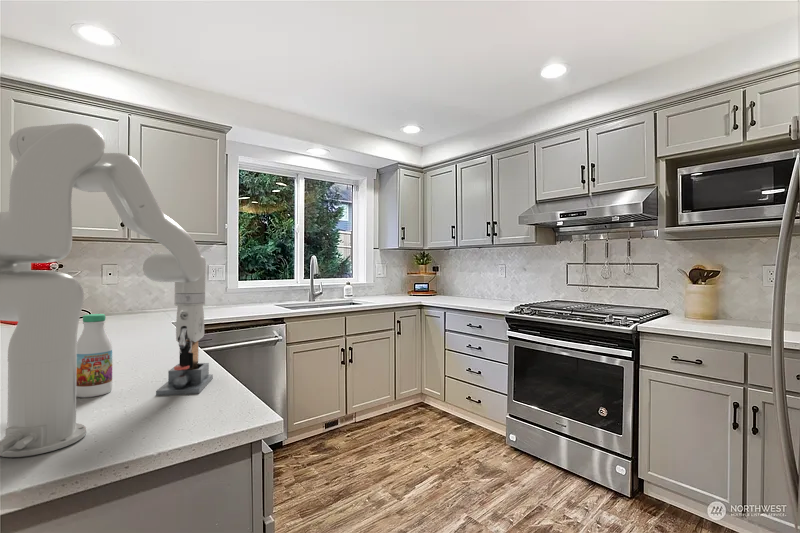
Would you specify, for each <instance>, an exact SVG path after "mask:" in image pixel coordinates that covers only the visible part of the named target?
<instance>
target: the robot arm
mask: <svg viewBox="0 0 800 533" xmlns="http://www.w3.org/2000/svg"><path fill="white" fill-rule="evenodd" d="M8 143H9V144H8V145H9V151H10V153H11V155H12V156H13V158H14V159H15V160H16V161H17V162H16V163H15V165H14V166H13V167H14V168H13V169H12V172H11V175H10V180H9V195H8V196H9V197H8V198H9V199H8V211H0V321H7V322H17V323H16V326H15V329H14V330H13V332H12V334H11V338H10V340H9V343H8V348H7V428H4V429H5V430H4V431H5V432H4V433H5V435H4V437H3V438H1V439H0V457H3V458H20V457H21V458H22V457H30V456H36V455H41V454H45V453H49V452H54V451H58V450H59V449H62V448H65V447H69V446H70V445H73V444H75V443H77V442H78V441H80V440H81V439H83V438H84V437H85V436H86V433H87V427H86V426H85V425H84V424H82V423H77V397H76V371H77V342H78V328H79V323H80V318H81V314H82V310H83V306H84V301H85V299H84V298H85V293H84V289H83V287H82V285H81V283H80V282H79V280H77V279H76V278H75V277H73V276H71V275H70V274H67V273H65V272H62V271H56V270H48V269H47V270H46V269H45V270H41V269H40V270H39V269H37V270H36V269H32V264H47V263H54V262H58V261H61V260H64V259H65V258H67V257H68V256H69V255H70V253H71V251H72V246H73V215H72V214H73V213H72V211H73V210H72V209H73V208H72V196H73V195H72V193H73V189H76V190H79V191H83V192H88V193H105V194H106V195H107V198H108V199H109V200H110V202H111V204H112V205H113V207H114V209H115V210H116V213H117V215H118V216H119V218H120V221H121V222H122V224H123V225H124V227H125V228H127V229H129V230H130V231H133V232H135V233H136V234H139V235H141V236H144V237H146V238H149V239H151V240H153V241H155V242H157V243H158V244H161V245H162V246H164V247H165V249H167V250H169V252H159V253H153V254H151V255H150V256H148V257H147V258H145V260H144V261H143V264H142V271H143V273H144V275H145V277H146V278H148V279H149V280H151V281H153V282H157V283H158V282H159V283H174V305H173V306H177V308H176V309H177V310H176V320H175V339H176V342H177V343H178V347H179V363H178V364H179V365H190V368H192V367H193V353H192V342H197V341H198V342H199V341H200V340H201V339H203V338H204V336H205V313H204V311H205V310H204V306H205V305H206V274H207V273H206V271H207V270H206V268H207V266H206V261H207V260H206V258H205V257H204V256H203V255H201V253H200V250H199V247H198V245H197V244H196V242H195V239H193V237H192V236H191V235H190V233H189V232H187V231H186V229H184V228H183V227H182V226H181V225H179V224H178V223H177V222H176V221H175V220H173V219H172V218H170V217H169V216H168V215H166V214H165V213H164V212H163V210H162V208H161V206H160V205H159V202H158V201H157V198H156V196H155V194H154V192H153V191H152V188H151V186H150V184H149V182H148V180H147V178H146V176H145V174H144V172H143V170H142V167H141V166H140V164H139V162H138V161H137V160H136V159H135V158H134V157H132V156H131V155H129V154H126V153H121V152H105V149H106V143H105V138H104V137H103V134H101V132H100V131H99V130H98V129H96V128H94V127H93V126H91V125H87V124H82V123H58V124H57V123H55V124H47V125H34V126H26V127H23V128H20V129H17V130H16V131H15V132H14V133H13V134H12V135H11V136H10V138H9V142H8ZM186 340H190V342H186ZM186 344H189V347H188V345H186ZM198 348H199V344H198Z"/></svg>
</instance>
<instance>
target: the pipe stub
mask: <svg viewBox="0 0 800 533" xmlns="http://www.w3.org/2000/svg"><path fill="white" fill-rule="evenodd" d="M186 342H190V340H186ZM186 345H188V347H189V344H186ZM198 345H199V341H197V342H192V353H193V367H192V368H189V369H198V363H199V347H198ZM187 370H188V369H187Z"/></svg>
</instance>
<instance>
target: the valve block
mask: <svg viewBox="0 0 800 533" xmlns="http://www.w3.org/2000/svg"><path fill="white" fill-rule="evenodd" d="M189 368H190V365H179V363H177V364H176V365H175V366H174V367H172V368H170V369H169V370H168V373H167V375H168V380H167V381H166V382H165V383H164V384H163V385H161V386H160V387H159V388H158V389H156V390H155V396H157V395H159V396H175V395H176V396H178V395H179V396H180V395H198V394H201V392H202V391H203V390H204V389H206V387H207V385H209V384H210V382H212V380H213V377H214V374H212V373H211V374H209V371H210V370H209V368H210V363H209V362H198V369H189ZM187 369H188V370H187ZM205 386H206V387H205Z"/></svg>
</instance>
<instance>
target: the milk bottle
mask: <svg viewBox="0 0 800 533" xmlns="http://www.w3.org/2000/svg"><path fill="white" fill-rule="evenodd" d="M105 323H106V314H104V313H92V314H91V313H90V314H85V315H84V314H83V315H82V324H83V329H82V332H81V335H80V336H79V337H78V339H77V371H76V398H93V397H98V396H102V395H106V394H109V393H110V392H111V391H112V389H113V345H112V344H113V343H112V341H111V338H110V336H109V335H108V332H107V330H106V328H105V327H106V326H105Z"/></svg>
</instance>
